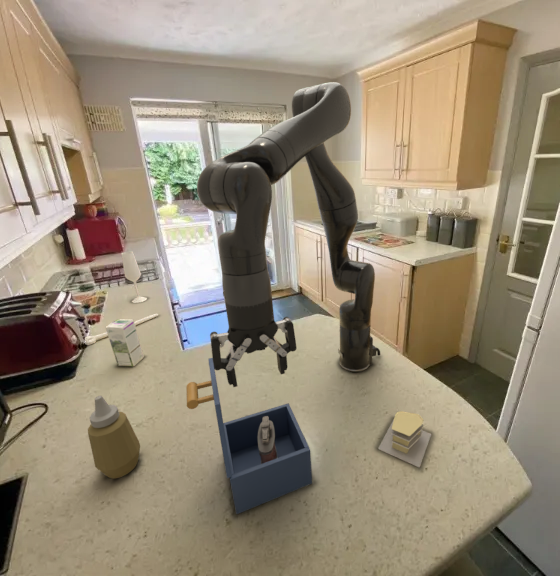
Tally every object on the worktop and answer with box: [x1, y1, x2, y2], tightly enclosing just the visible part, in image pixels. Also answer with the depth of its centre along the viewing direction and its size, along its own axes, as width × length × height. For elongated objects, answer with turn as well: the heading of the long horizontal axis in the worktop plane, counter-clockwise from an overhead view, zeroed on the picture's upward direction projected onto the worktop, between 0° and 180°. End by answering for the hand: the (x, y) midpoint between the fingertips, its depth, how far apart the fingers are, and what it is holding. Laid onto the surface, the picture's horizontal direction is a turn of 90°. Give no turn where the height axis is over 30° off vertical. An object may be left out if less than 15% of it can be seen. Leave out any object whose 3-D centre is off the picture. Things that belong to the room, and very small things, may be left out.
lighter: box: [258, 416, 277, 464], centre depth 62 cm, size 8×3×10 cm, turn 8°
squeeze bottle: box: [87, 395, 141, 479], centre depth 62 cm, size 8×8×18 cm
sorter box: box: [223, 403, 313, 515], centre depth 62 cm, size 15×14×9 cm
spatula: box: [84, 313, 159, 346], centre depth 124 cm, size 28×4×3 cm, turn 148°
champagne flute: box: [120, 251, 148, 304], centre depth 148 cm, size 7×7×24 cm
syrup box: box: [105, 318, 145, 367], centre depth 100 cm, size 6×6×14 cm
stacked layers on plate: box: [377, 410, 432, 469], centre depth 68 cm, size 10×9×6 cm
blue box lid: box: [185, 357, 232, 479], centre depth 55 cm, size 15×14×5 cm
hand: (258, 377), depth 56 cm, fingers open, 8 cm apart
